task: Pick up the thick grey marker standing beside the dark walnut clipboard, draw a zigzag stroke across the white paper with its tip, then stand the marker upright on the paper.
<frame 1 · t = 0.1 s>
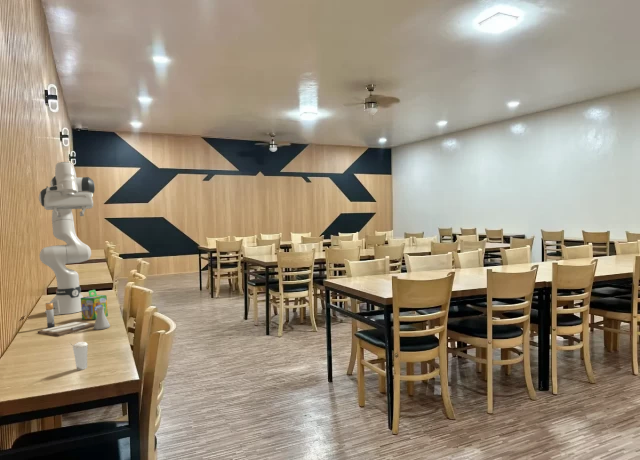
hand: (70, 216, 203), 54 cm above the table, tool tilted 30°, fingers open, 8 cm apart
clipboard: (68, 329, 208), on the table
marker: (51, 327, 215), on the table
chalk box: (95, 318, 232), on the table
flask: (101, 328, 208), on the table
milkshake: (80, 369, 150), on the table
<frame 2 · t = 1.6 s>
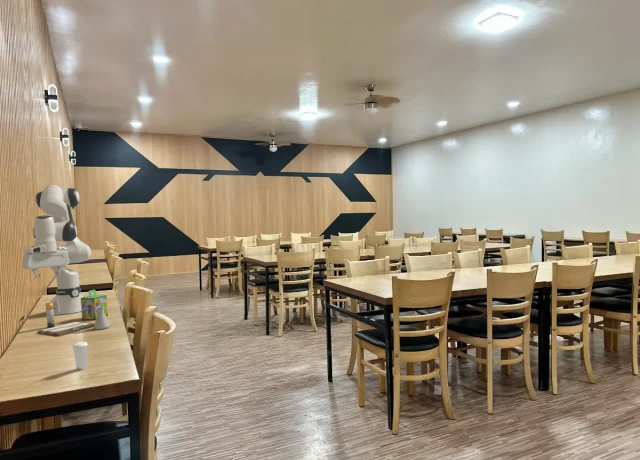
hand: (47, 276, 212), 25 cm above the table, tool pointing down, fingers open, 8 cm apart
nothing on the table moved.
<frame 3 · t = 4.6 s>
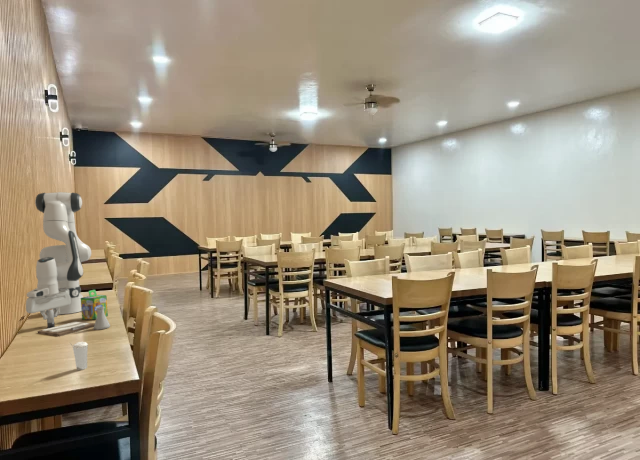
hand: (50, 318, 215), 5 cm above the table, tool pointing down, fingers closed on marker, 3 cm apart
marker: (51, 327, 215), on the table, touching gripper
everything else where it was.
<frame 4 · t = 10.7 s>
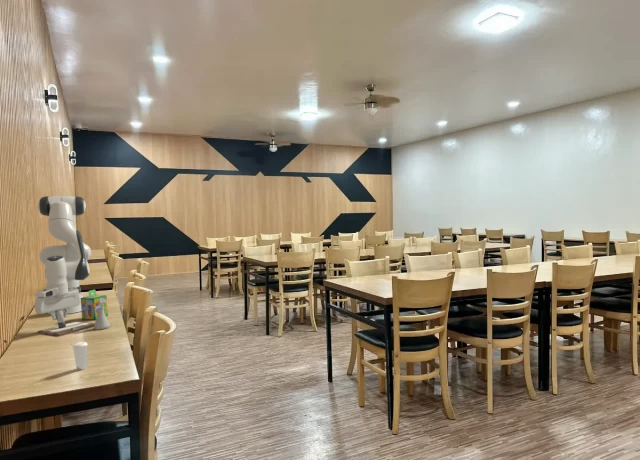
hand: (59, 318, 208), 5 cm above the table, tool pointing down, fingers closed on marker, 3 cm apart
marker: (62, 327, 207), point 1 cm above the table, tilted 10°, touching gripper
everything else where it was.
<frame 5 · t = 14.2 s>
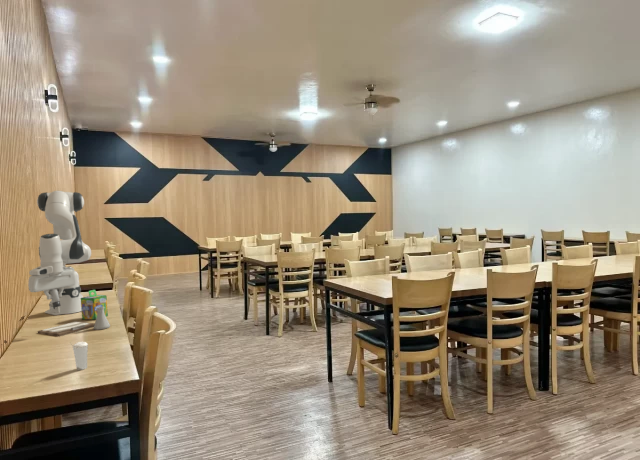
hand: (54, 298, 202), 16 cm above the table, tool pointing down, fingers closed on marker, 3 cm apart
marker: (56, 306, 202), point 12 cm above the table, tilted 9°, touching gripper
everything else where it was.
when the fingers open (7 cm above the table, at t = 17.2 s): marker drops 1 cm, resting on clipboard.
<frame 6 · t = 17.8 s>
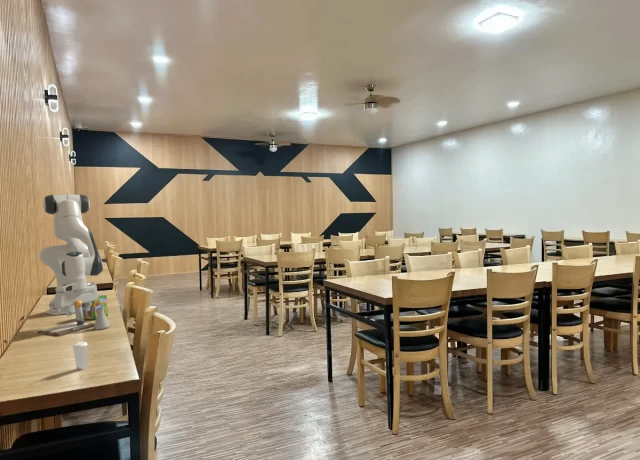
hand: (78, 313, 212), 7 cm above the table, tool pointing down, fingers open, 8 cm apart
marker: (80, 324, 212), point 1 cm above the table, tilted 8°, touching clipboard
everything else where it was.
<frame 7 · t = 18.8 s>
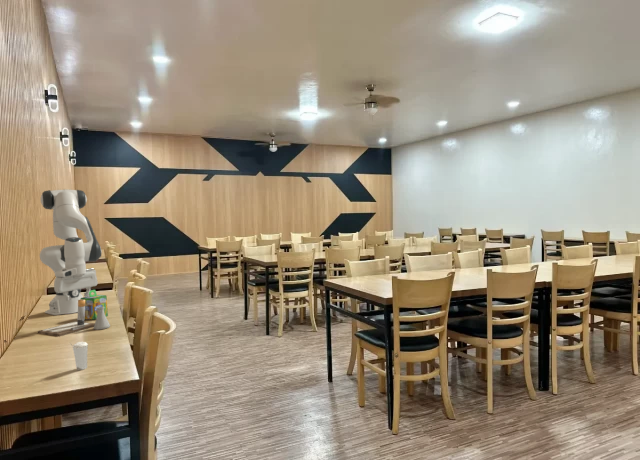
hand: (77, 298, 213), 14 cm above the table, tool pointing down, fingers open, 8 cm apart
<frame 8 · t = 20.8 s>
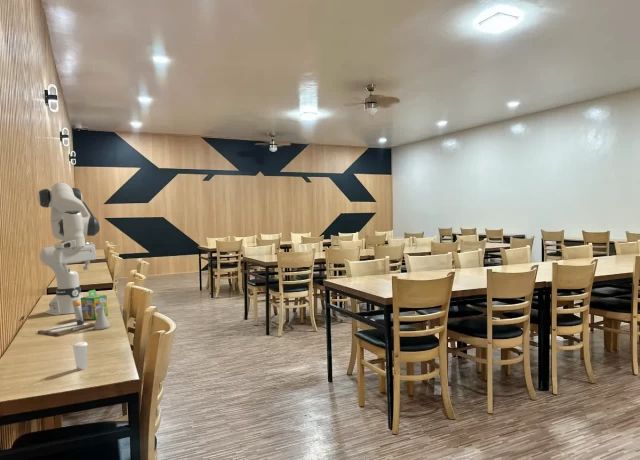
hand: (76, 271, 214), 27 cm above the table, tool pointing down, fingers open, 8 cm apart
at the end: marker inside the target area on the clipboard (1.2 cm from its centre), point 1.5 cm above the clipboard's base; marker tilted 12°; the gripper is holding nothing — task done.
